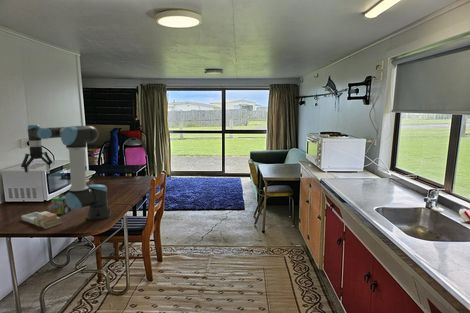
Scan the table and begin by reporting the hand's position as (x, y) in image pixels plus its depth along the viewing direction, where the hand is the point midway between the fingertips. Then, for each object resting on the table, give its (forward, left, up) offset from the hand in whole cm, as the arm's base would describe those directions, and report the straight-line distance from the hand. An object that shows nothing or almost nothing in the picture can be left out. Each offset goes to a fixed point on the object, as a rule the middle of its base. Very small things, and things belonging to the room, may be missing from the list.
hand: (38, 174), depth 215 cm
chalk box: (-16, -6, -28) cm, 33 cm away
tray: (-16, +12, -28) cm, 34 cm away
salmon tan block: (-34, +12, -24) cm, 44 cm away
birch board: (-31, +12, -28) cm, 43 cm away
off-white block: (-27, +12, -24) cm, 38 cm away
